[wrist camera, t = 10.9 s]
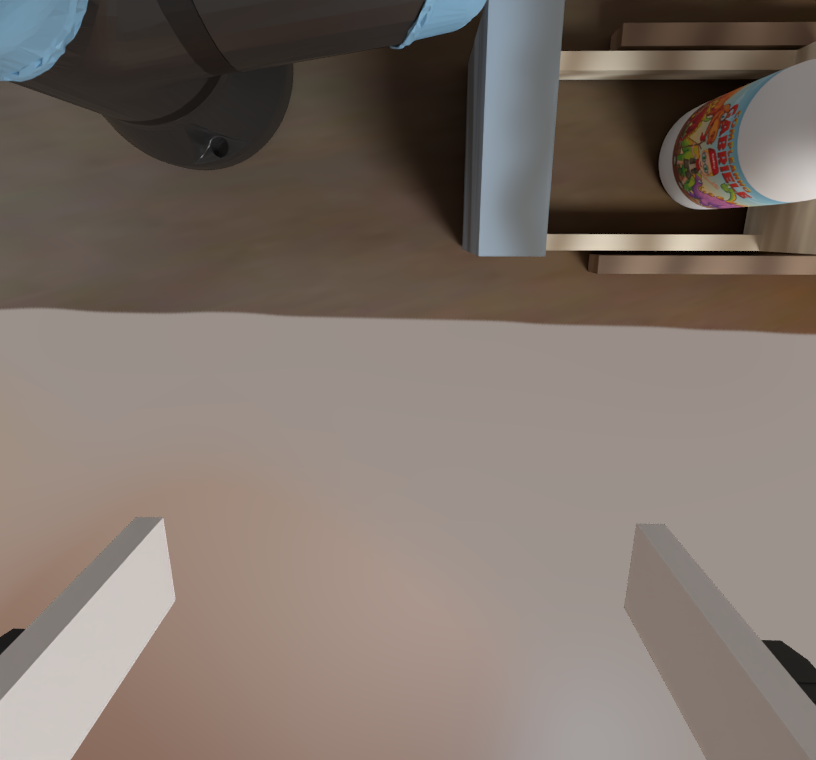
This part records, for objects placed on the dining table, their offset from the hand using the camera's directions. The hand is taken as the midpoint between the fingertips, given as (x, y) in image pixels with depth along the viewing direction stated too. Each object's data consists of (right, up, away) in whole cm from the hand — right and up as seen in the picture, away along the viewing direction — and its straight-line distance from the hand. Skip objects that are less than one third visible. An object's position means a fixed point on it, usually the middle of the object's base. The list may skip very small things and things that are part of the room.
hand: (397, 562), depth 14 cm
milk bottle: (+24, +23, +26) cm, 42 cm away
